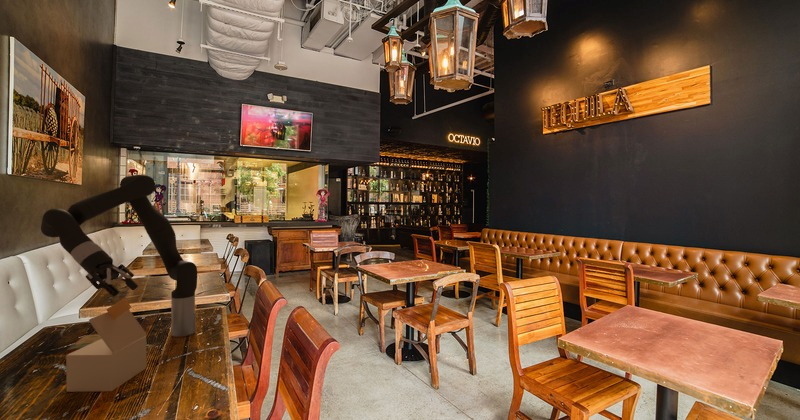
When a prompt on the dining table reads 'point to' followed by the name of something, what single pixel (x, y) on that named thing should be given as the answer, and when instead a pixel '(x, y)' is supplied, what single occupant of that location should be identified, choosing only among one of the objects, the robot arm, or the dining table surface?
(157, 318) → the dining table surface
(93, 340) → the carton
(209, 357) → the dining table surface
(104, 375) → the cardboard box
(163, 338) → the dining table surface
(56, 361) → the dining table surface
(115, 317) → the tan box lid
